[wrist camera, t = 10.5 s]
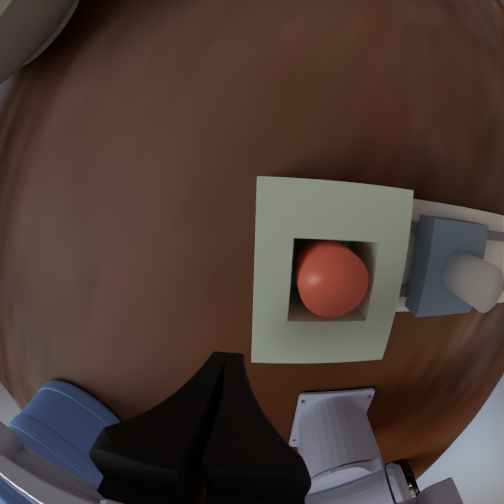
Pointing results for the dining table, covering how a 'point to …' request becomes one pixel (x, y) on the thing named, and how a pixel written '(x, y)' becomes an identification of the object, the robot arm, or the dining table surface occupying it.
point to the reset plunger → (329, 277)
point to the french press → (408, 475)
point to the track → (360, 243)
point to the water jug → (60, 431)
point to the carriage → (452, 269)
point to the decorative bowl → (29, 30)
